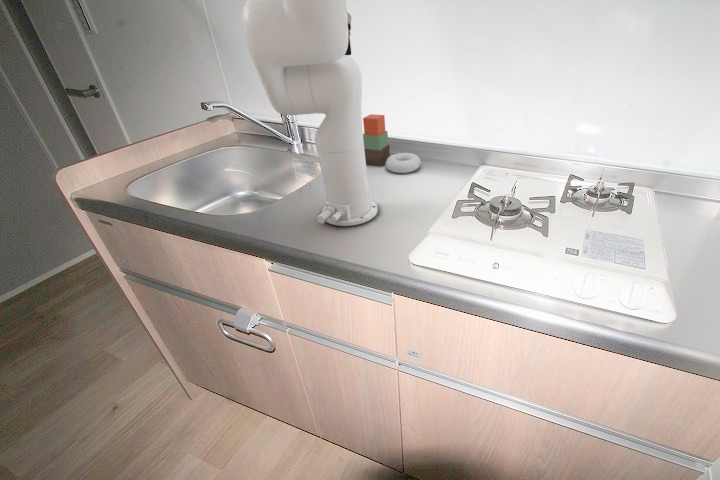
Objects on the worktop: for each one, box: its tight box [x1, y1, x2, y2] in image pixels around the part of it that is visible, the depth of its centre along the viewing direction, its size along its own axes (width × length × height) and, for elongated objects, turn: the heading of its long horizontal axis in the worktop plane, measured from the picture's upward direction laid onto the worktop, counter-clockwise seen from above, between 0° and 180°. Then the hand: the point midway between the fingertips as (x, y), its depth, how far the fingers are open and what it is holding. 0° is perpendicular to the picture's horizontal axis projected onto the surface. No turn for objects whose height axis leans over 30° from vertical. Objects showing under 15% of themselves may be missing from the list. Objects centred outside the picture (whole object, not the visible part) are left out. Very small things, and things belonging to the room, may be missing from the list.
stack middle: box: [363, 130, 389, 151], centre depth 106 cm, size 6×6×4 cm
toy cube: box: [362, 113, 386, 136], centre depth 104 cm, size 4×4×4 cm
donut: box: [385, 152, 422, 174], centre depth 104 cm, size 10×4×10 cm
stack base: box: [364, 144, 391, 167], centre depth 109 cm, size 6×6×4 cm
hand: (335, 57), depth 91 cm, fingers open, 9 cm apart
